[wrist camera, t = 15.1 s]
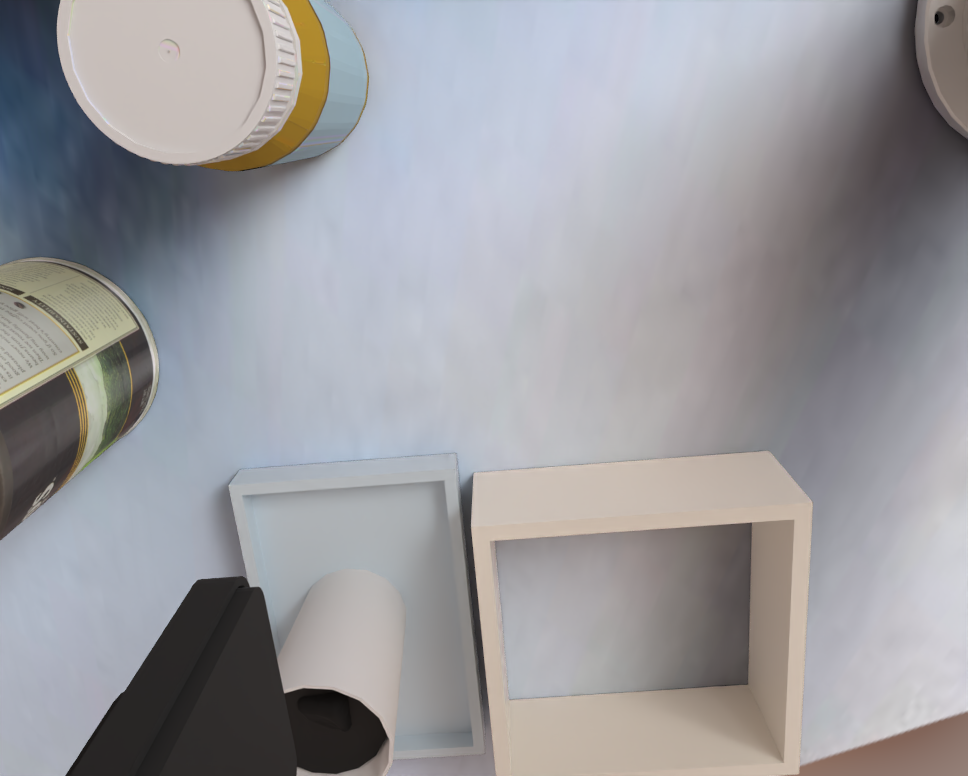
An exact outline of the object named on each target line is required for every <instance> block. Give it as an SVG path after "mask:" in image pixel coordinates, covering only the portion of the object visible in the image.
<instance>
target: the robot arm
mask: <svg viewBox="0 0 968 776" xmlns="http://www.w3.org/2000/svg"><path fill="white" fill-rule="evenodd" d="M935 13H936V14H937V15H938V17H939V20H938V22H937V24H935V20H934V16H935ZM915 41H916V57H917V61H918V65H919V69H920V73H921V77H922V81H923V84H924V86H925V88H926V90H927V92H928V94H929V96H930V98H931V100H932V102H933V104H934V106H935V108H936V109H937V110H938V111H939V113H940V114H941V115H942V116H943V118H944V119H945V120H946V121H947V123H948V124H949V125H950V126H951V127H952V128H954V129H955V130H956V131H957V132H959V133H960V134H961V135H962V136H964V137H965V138H966V139H968V0H918V6H917V14H916V22H915ZM296 774H297V756H296V750H295V745H294V740H293V735H292V730H291V725H290V720H289V715H288V710H287V705H286V700H285V695H284V690H283V686H282V681H281V676H280V671H279V666H278V661H277V656H276V651H275V646H274V641H273V636H272V631H271V626H270V621H269V616H268V611H267V606H266V601H265V597H264V593H263V591H262V589H261V588H260V587H250V585H249V583H248V581H247V579H246V578H244V577H243V576H240V577H226V578H212V579H201V580H197V581H196V583H195V584H194V585H193V586H192V588H191V589H190V591H189V593H188V594H187V596H186V597H185V599H184V600H183V602H182V603H181V605H180V606H179V608H178V610H177V611H176V613H175V614H174V616H173V617H172V619H171V620H170V622H169V624H168V625H167V627H166V628H165V630H164V631H163V633H162V634H161V636H160V637H159V639H158V641H157V642H156V644H155V645H154V647H153V648H152V650H151V651H150V653H149V655H148V656H147V658H146V659H145V661H144V662H143V664H142V665H141V667H140V668H139V670H138V672H137V673H136V675H135V676H134V678H133V679H132V681H131V682H130V684H129V686H128V687H127V689H126V690H125V692H123V693H121V694H120V695H119V696H118V698H117V699H116V700H115V701H114V702H113V704H112V705H111V707H110V708H109V710H108V711H107V713H106V714H105V716H104V717H103V719H102V721H101V722H100V724H99V725H98V727H97V728H96V730H95V731H94V733H93V734H92V736H91V737H90V739H89V740H88V742H87V743H86V745H85V747H84V748H83V750H82V751H81V753H80V754H79V756H78V757H77V759H76V760H75V762H74V763H73V765H72V766H71V768H70V770H69V771H68V773H67V774H66V776H296Z"/></svg>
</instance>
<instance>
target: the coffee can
mask: <svg viewBox="0 0 968 776" xmlns="http://www.w3.org/2000/svg"><path fill="white" fill-rule="evenodd" d="M158 380H159V360H158V353H157V348H156V344H155V340H154V338H153V335H152V332H151V330H150V328H149V325H148V323H147V321H146V320H145V318H144V316H143V314H142V313H141V312H140V310H139V309H138V308H137V306H136V305H135V304H134V302H133V301H132V300H131V299H130V298H129V297H128V296H127V295H126V294H125V293H124V292H123V291H122V290H121V289H120V288H119V287H118V286H116V285H115V284H114V283H113V282H111V281H110V280H109V279H107V278H105V277H104V276H102V275H101V274H99V273H97V272H95V271H94V270H92V269H90V268H88V267H86V266H84V265H81V264H78V263H74V262H70V261H66V260H62V259H56V258H44V257H36V258H26V259H20V260H16V261H13V262H10V263H6V264H3V265H1V266H0V540H1V539H3V538H4V537H5V536H6V535H7V534H8V533H10V532H11V531H12V530H13V529H14V528H15V527H16V526H18V525H19V524H20V523H21V522H22V521H24V520H25V519H26V518H27V517H29V516H30V515H31V514H32V513H33V512H34V511H35V510H37V509H38V508H39V507H40V506H41V505H42V504H43V503H45V502H46V501H47V500H48V499H49V498H50V497H51V496H53V495H54V494H55V493H56V492H57V491H58V490H59V489H61V488H62V487H63V486H64V485H65V484H67V483H68V482H69V481H70V480H71V479H72V478H74V477H75V476H76V475H77V474H78V473H79V472H81V471H82V470H83V469H84V468H85V467H86V466H88V465H89V464H90V463H91V462H92V461H93V460H94V459H96V458H97V457H98V456H99V455H101V454H102V453H103V452H104V451H105V450H107V449H108V448H109V447H110V446H111V445H113V444H114V443H115V442H116V441H117V440H119V439H120V438H122V437H123V436H125V435H126V434H128V433H129V432H130V431H132V430H133V429H134V428H135V427H136V426H137V425H138V424H139V422H140V421H141V420H142V419H143V417H144V416H145V415H146V413H147V411H148V410H149V408H150V406H151V404H152V402H153V399H154V398H155V395H156V391H157V386H158Z"/></svg>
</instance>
